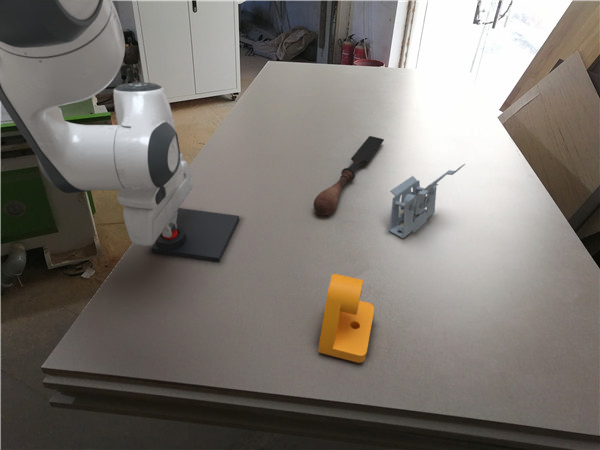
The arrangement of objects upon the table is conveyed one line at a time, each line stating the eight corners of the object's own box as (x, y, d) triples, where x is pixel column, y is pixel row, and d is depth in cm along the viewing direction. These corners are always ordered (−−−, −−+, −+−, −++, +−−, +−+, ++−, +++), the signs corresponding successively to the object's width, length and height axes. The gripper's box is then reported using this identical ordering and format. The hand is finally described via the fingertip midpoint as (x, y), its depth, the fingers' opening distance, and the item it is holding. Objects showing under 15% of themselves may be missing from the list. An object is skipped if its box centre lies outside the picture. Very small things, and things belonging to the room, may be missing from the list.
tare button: (175, 245, 81) (173, 238, 80) (161, 243, 81) (159, 236, 80) (181, 236, 83) (179, 229, 82) (167, 234, 83) (165, 227, 82)
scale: (219, 262, 79) (217, 251, 78) (152, 252, 81) (149, 241, 79) (239, 219, 90) (238, 209, 88) (179, 212, 92) (177, 201, 90)
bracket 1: (363, 367, 62) (374, 317, 55) (317, 355, 64) (323, 304, 56) (372, 314, 70) (384, 264, 63) (332, 304, 72) (338, 255, 64)
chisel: (308, 216, 92) (309, 198, 89) (368, 141, 123) (370, 126, 120) (328, 222, 90) (330, 204, 87) (384, 145, 121) (386, 130, 118)
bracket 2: (417, 247, 85) (433, 187, 75) (378, 226, 90) (389, 167, 81) (446, 221, 92) (465, 164, 83) (409, 203, 97) (423, 147, 88)
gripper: (165, 144, 81) (176, 201, 89) (111, 202, 65) (130, 264, 74) (195, 148, 80) (203, 205, 89) (147, 207, 64) (163, 269, 73)
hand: (170, 232), depth 81 cm, fingers closed, pressing on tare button
